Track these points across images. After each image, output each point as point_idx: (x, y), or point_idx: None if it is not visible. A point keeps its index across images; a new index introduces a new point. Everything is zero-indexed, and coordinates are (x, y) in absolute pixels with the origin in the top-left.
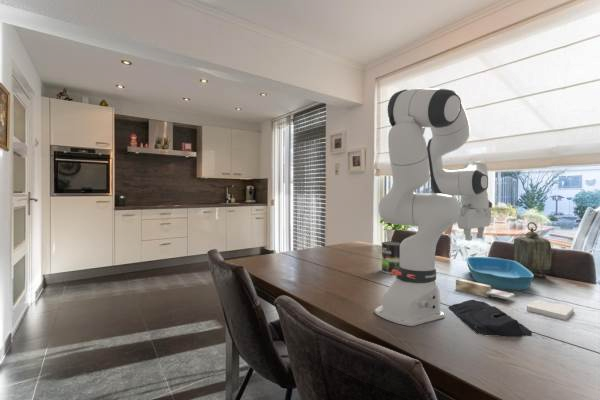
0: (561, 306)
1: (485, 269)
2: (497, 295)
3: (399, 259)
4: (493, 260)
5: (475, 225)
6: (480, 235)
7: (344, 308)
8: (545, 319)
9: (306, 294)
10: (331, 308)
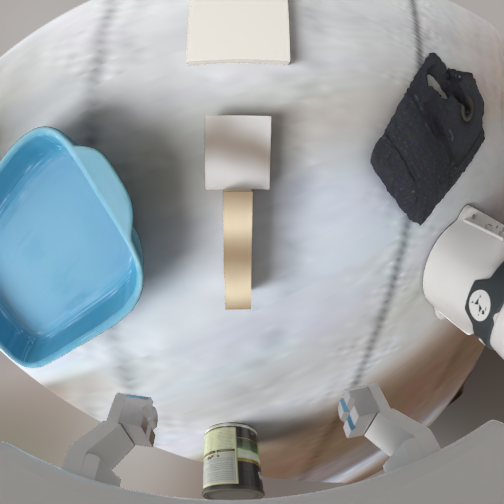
0: (205, 4)
1: (10, 310)
2: (270, 150)
3: (237, 454)
4: None
5: (383, 501)
6: (146, 418)
7: None
8: (323, 24)
9: (454, 385)
10: None
